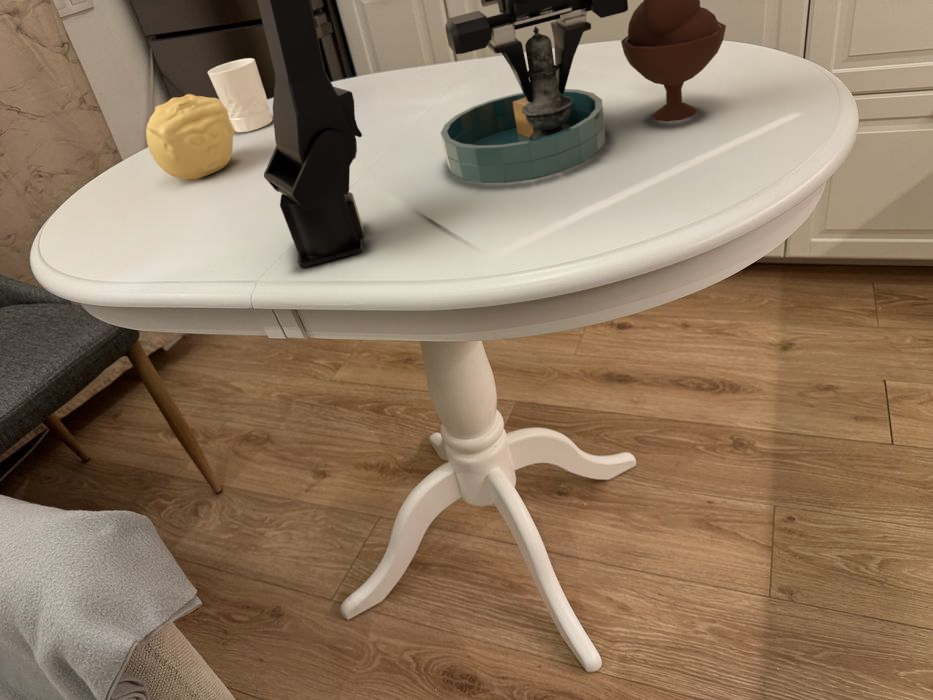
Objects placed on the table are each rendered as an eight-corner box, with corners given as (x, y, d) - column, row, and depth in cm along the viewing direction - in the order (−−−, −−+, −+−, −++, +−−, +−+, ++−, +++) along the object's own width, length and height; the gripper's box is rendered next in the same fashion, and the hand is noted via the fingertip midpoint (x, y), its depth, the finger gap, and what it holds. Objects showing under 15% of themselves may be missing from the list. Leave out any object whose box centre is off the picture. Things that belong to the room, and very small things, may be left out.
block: (534, 140, 83) (530, 106, 81) (517, 133, 86) (512, 101, 84) (562, 129, 85) (558, 96, 82) (543, 123, 88) (539, 91, 85)
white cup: (223, 136, 117) (198, 76, 111) (245, 120, 123) (222, 62, 117) (263, 131, 114) (239, 69, 109) (283, 115, 120) (262, 55, 115)
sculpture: (188, 192, 96) (152, 115, 90) (152, 181, 104) (118, 109, 98) (256, 160, 102) (228, 85, 96) (218, 151, 110) (189, 82, 104)
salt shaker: (518, 137, 83) (500, 31, 76) (562, 122, 84) (548, 16, 77) (539, 149, 78) (521, 37, 71) (585, 133, 79) (572, 21, 72)
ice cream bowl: (744, 113, 79) (749, -34, 70) (660, 143, 76) (654, -5, 68) (687, 96, 87) (684, -37, 79) (609, 122, 85) (599, -12, 76)
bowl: (463, 202, 74) (455, 162, 71) (439, 149, 89) (431, 115, 87) (629, 158, 75) (627, 117, 72) (577, 113, 90) (573, 78, 87)
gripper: (588, -84, 76) (601, 62, 85) (425, -43, 76) (455, 100, 85) (624, -81, 67) (634, 82, 76) (438, -34, 67) (470, 125, 75)
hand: (545, 97), depth 78 cm, fingers closed on salt shaker, 3 cm apart
